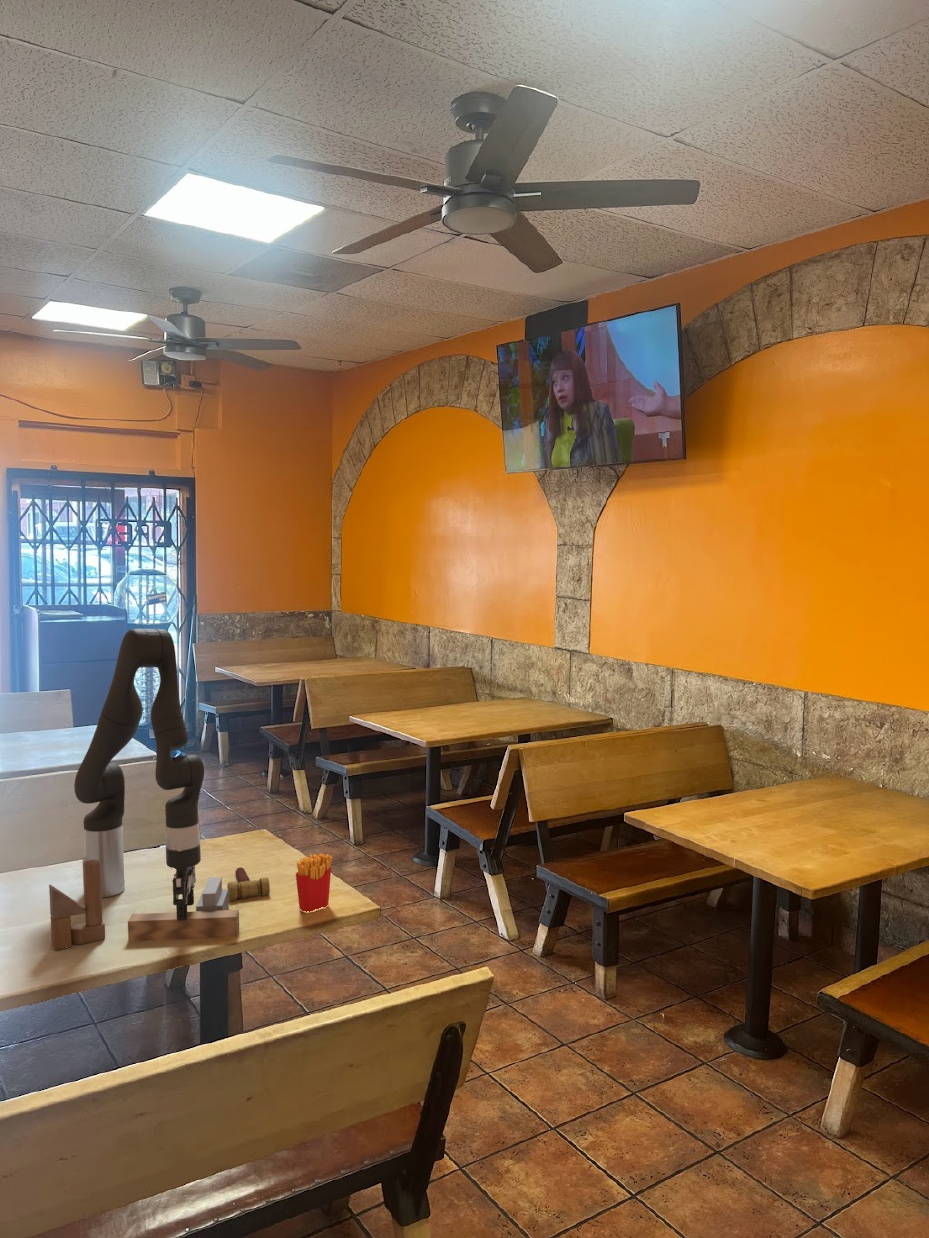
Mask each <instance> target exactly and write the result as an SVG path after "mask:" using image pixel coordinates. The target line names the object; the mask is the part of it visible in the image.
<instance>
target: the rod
mask: <svg viewBox="0 0 929 1238" xmlns="http://www.w3.org/2000/svg"><path fill="white" fill-rule="evenodd" d="M187 916H188V917H187V920H185V921H178V920H177V911H174V912H150V913H148V912H147V913H132V914H131V915H130V917H129V918H128V920H127V935H128V936H127V937H128V939H127V941H128V942H149V941H148V940H150V941H170V940H192V939H193V940H194V939H196V940H197V939H213V938H214V939H215V938H216V939H217V938H218V939H219V938H237V937H238V936H239V935H238V934H239V932H240V909H229V910H220V911H196V910H195V911H187ZM139 940H140V941H139Z"/></svg>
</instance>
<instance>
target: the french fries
mask: <svg viewBox="0 0 929 1238" xmlns="http://www.w3.org/2000/svg"><path fill="white" fill-rule="evenodd" d="M332 861H333V856H332V855H329V853H326V854H324V853H321V852H320V853H318V854H316V853H313V854H309V856H308V857H303V858H302V857H301V858H300V860H299V861H297V862H296V868H297V872H295V880H296V889H297V896H298V897H297V898H298V907H299V910H300V909H301V910H302V911H306V912H307V911H309V912H310V911H313V910H315V909H319V908H321V907H326V906H327V905H328V906H329V903H330V902H329V901H330V886H331V873H332V867H331V864H332Z"/></svg>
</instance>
